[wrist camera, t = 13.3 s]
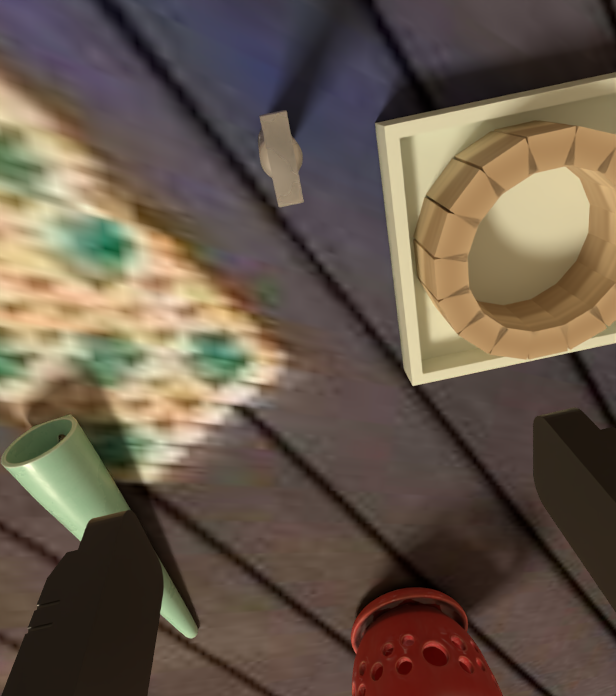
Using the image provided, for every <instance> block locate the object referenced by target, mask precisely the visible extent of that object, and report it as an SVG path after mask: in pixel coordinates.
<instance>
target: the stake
mask: <svg viewBox="0 0 616 696" xmlns="http://www.w3.org/2000/svg"><path fill="white" fill-rule="evenodd" d="M259 116H260V121H261V126H262V129H261V131H260V133H259V135H258V146H259V154H260V162H261V166H262V168H263V170H264V171H265V173H266V174H267V175H269V176H270V177H272V178H273V182H274V187H275V192H276V197H277V201H278V206H279V207H283V206H288V205H293V204H298V203H302V202H304V201H303V196H302V191H301V185H300V180H299V175H298V171H299V169H300V167H301V165H302V151H301V149H300V147H299V145H298V144H297V142H296V141H295V139H294V138H293V137H292V135H291V132H290V127H289V121H288V116H287V111H286V110H283V111H278V112H273V113H268V114H264V115H259Z"/></svg>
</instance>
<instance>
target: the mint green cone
mask: <svg viewBox="0 0 616 696" xmlns="http://www.w3.org/2000/svg"><path fill="white" fill-rule="evenodd" d="M61 434H63V435H65V436H66V437H65V438H64V439H63V440H62V441H61V442H60V440H59V435H61ZM1 464H2V465H3V466H4V467H5V468H6V469H7V470H8V471H9V472H10V473H11V474H12V475H13V476H14V477H15V478H16V479H17V481H18V482H19V483H20V484H21V485H22V486H23V487H24V488H25V489H26V490H27V491H28V492H29V493H30V494H31V495H32V496H33V497H34V498H35V499H36V500H37V501H38V502H39V503H40V504H41V505H42V506H43V507H44V508H45V509H46V510H47V511H48V512H49V513H51V514H52V515H53V516H54V517H55V518H56V519H57V520H58V521H59V522H60V523H61V524H63V525H64V526H65V527H66V528H67V529H68V530H69V531H70V532H71V533H72V534H73V535H75V536H76V537H77V538H78V539H79V540H80V541H81V540H82V537H83V534H84V531H85V528H86V526H87V523H88V522H89V521H90V520H91V519H93V518H96V517H101V516H105V515H109V514H114V513H118V512H122V511H126V510H131V509H130V508H129V506H128V504H127V502H126V501H125V499H124V497H123V496H122V494H121V492H120V491H119V489H118V487H117V486H116V484H115V482H114V480H113V479H112V477H111V475H110V474H109V472H108V470H107V469H106V467H105V465H104V464H103V462H102V460H101V459H100V457H99V455H98V454H97V452H96V451H95V449H94V447H93V446H92V444H91V443H90V441H89V439H88V438H87V436H86V435H85V433H84V431H83V430H82V428H81V427H80V425H79V423H78V422H77V420H76V419H75V418H74V417H73V415H72V414H69V415H66V416H63V417H60V418H57V419H54V420H51V421H48V422H45V423H42V424H38V425H36V426H33V427H32V428H31V429H30V430H28V431H27V432H25V433H24V434H22V435H21V436H20V437H18V438H17V439H16V440H15V441H14V442H13V443H12V444H11V445H10V446H9V447H8V448H7V449H6V450H5V452H4V454H3V455H2V458H1ZM155 553H156V552H155ZM156 555H157V554H156ZM157 557H158V556H157ZM158 559H159V558H158ZM159 561H160V559H159ZM160 564H161V567H162V572H163V580H164V591H163V599H162V605H161V611H160V614H161V615H162V616H163V617H164V618H165V619H167V620H168V621H169V622H170V623H171V624H172V625H173V626H174V627H175V628H176V629H178V630H179V631H180V632H181V633H182V634H183V635H185V636H186V637H188V638H194V637H195V636H196V635H197V633H198V628H197V625H196V623H195V621H194V620H193V618H192V616H191V614H190V612H189V610H188V609H187V607H186V605H185V603H184V601H183V600H182V598H181V596H180V594H179V593H178V591H177V589H176V587H175V585H174V584H173V582H172V580H171V578H170V577H169V575H168V573H167V571H166V570H165V568H164V566H163V564H162V563H161V561H160Z"/></svg>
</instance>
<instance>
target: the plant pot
mask: <svg viewBox="0 0 616 696" xmlns="http://www.w3.org/2000/svg"><path fill="white" fill-rule="evenodd" d="M467 628H468V620H467V616H466V613H465V611H464V610H463V608H462V607H461V606H460V605H459V604H458V603H457V602H456V601H455V600H454V599H452V598H451V597H450V596H448V595H446V594H444V593H442V592H440V591H437V590H433V589H429V588H421V587H412V588H403V589H398V590H394V591H391V592H388V593H386V594H383V595H381V596H379V597H378V598H376V599H375V600H373V601H372V602H370V603H369V604H368V605H367V606H366V607H365V608H364V609H363V610H362V611H361V612H360V614H359V615H358V616H357V618H356V620H355V622H354V624H353V628H352V632H351V642H352V646H353V649H354V651H355V652H356V658H355V662H354V668H353V677H352V696H503V695H502V692H501V690H500V688H499V686H498V683H497V681H496V679H495V677H494V675H493V673H492V672H491V670H490V668H489V666H488V664H487V662H486V660H485V658H484V656H483V655H482V653H481V651H480V649H479V648H478V646H477V645H476V643H475V642H474V640H473V639H472V638H471V637H470V635H469V634H468V633H467Z"/></svg>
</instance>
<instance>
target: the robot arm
mask: <svg viewBox="0 0 616 696" xmlns="http://www.w3.org/2000/svg"><path fill="white" fill-rule="evenodd" d="M533 476H534V482H535V486H536V490H537V493H538V495H539V497H540V500H541V502H542V504H543V505H544V507H545V509H546V510H547V511H548V513H549V514H550V516H551V517H552V519H553V520H554V522H555V523H556V525H557V526H558V528H559V529H560V531H561V532H562V534H563V535H564V537H565V538H566V540H567V541H568V542H569V544H570V545H571V547H572V548H573V550H574V551H575V553H576V554H577V556H578V557H579V559H580V560H581V562H582V563H583V565H584V566H585V568H586V569H587V571H588V572H589V573H590V575H591V576H592V578H593V579H594V581H595V582H596V584H597V585H598V587H599V588H600V590H601V591H602V593H603V594H604V596H605V597H606V599H607V600H608V602H609V603H610V604H611V606H612V607H613V609H614V610H615V612H616V428H614V427H611V428H606V429H602V430H600V429H599V428H598V427H597V426H596V425H595V424H594V423H593V422H592V421H591V420H590V419H589V418H588V417H587V416H586V415H585V414H584V413H583V412H582V411H581V410H580V409H578V408H570V409H566V410H561V411H557V412H553V413H549V414H544V415H540V416H537V417H536V418H535V419H534V423H533ZM163 591H164V580H163V572H162V567H161V564H160V561H159V559H158V557H157V555H156V553H155V551H154V549H153V547H152V545H151V543H150V541H149V539H148V537H147V535H146V533H145V531H144V529H143V528H142V526H141V524H140V522H139V520H138V518H137V516H136V514H135V513H134V512H133V511H131V510H126V511H122V512H118V513H114V514H109V515H105V516H101V517H96V518H93V519H91V520H90V521H89V522H88V523H87V526H86V528H85V531H84V534H83V537H82V540H81V543H80V545H79V548H78V550H75V551H71V552H67V553H66V554H65V556H64V557H63V558H62V559H61V561H60V562H59V563H58V565H57V566H56V567H55V569H54V570H53V571H52V573H51V574H50V575H49V576H48V578H47V580H46V583H45V585H44V588H43V590H42V593H41V595H40V598H39V601H38V603H37V610H36V611H34V613H33V616H32V619H31V621H30V624H29V626H28V634H25V636H24V639H23V642H22V644H21V647H20V649H19V652H18V654H17V657H16V660H15V662H14V665H13V667H12V670H11V672H10V675H9V678H8V680H7V683H6V685H5V688H4V690H3V693H2V696H147V694H148V687H149V681H150V675H151V668H152V662H153V656H154V649H155V643H156V637H157V630H158V624H159V618H160V611H161V605H162V599H163Z"/></svg>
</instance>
